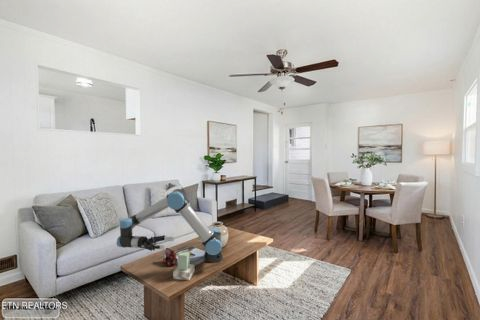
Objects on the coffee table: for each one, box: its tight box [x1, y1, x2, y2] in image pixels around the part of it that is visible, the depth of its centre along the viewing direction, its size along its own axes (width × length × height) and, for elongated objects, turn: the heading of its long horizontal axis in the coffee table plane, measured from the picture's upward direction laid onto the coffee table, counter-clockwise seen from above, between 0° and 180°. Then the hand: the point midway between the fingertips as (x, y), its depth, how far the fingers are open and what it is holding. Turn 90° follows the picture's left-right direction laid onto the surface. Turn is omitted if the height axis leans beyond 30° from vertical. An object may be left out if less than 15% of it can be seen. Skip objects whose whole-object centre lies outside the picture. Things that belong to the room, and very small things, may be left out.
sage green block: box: [177, 250, 191, 270], centre depth 158 cm, size 6×6×10 cm
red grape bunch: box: [162, 247, 178, 267], centre depth 175 cm, size 7×12×10 cm, turn 49°
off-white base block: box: [172, 263, 196, 281], centre depth 158 cm, size 11×11×5 cm
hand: (169, 242), depth 159 cm, fingers open, 13 cm apart
